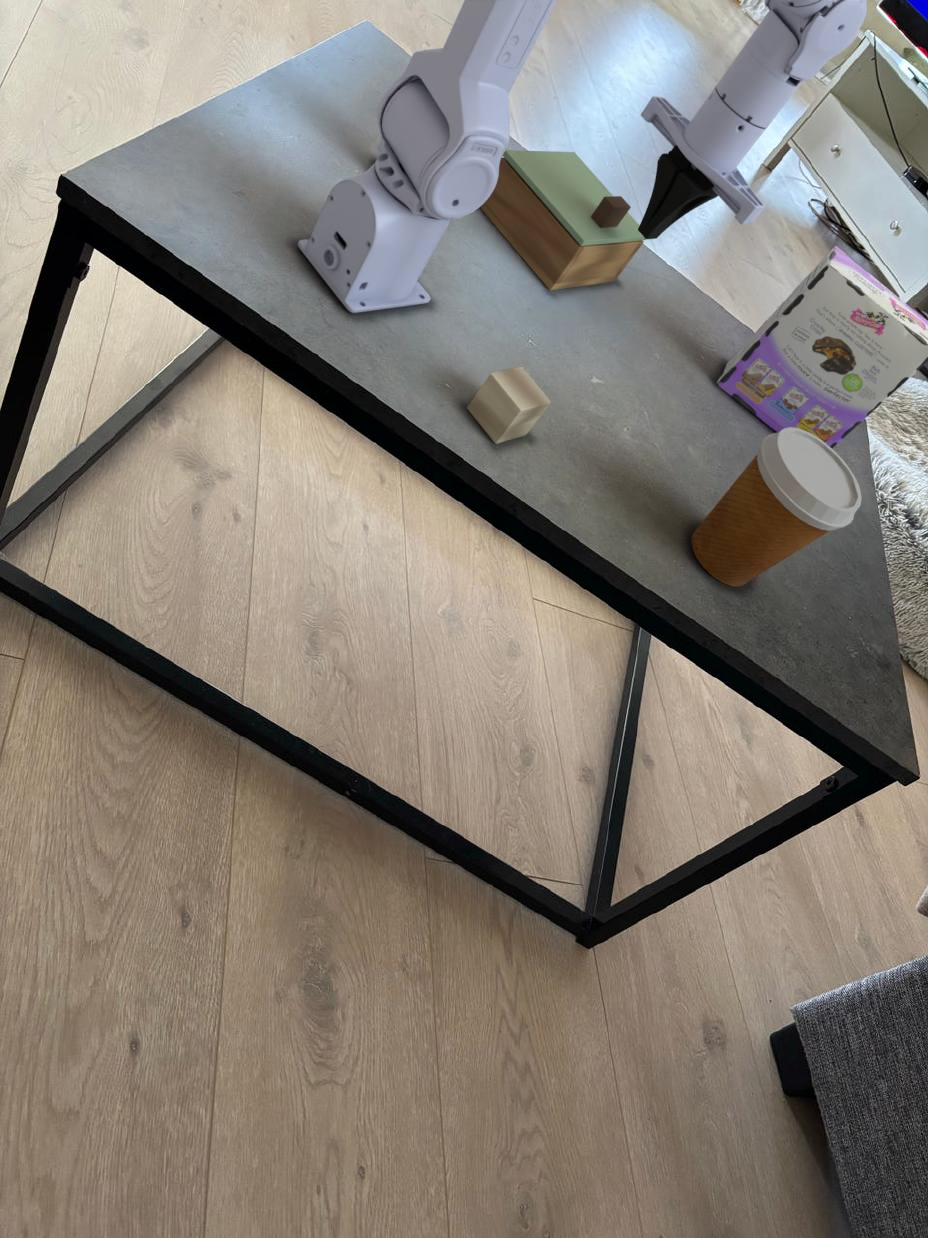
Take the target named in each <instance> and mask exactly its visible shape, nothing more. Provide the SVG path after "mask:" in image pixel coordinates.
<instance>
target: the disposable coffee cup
mask: <svg viewBox="0 0 928 1238" xmlns="http://www.w3.org/2000/svg"><path fill="white" fill-rule="evenodd" d="M756 453H757V454H756V455H755V456H754V457H753V459H752V460H751V461H750V463H748V464H747V466H745V468H744V470H742V472H741V473H740V474H739V476H738V477H737V478H736V479H735V481H734V482H733V483H732V485H731V486H730V487H729V488H728V490H726V492H725V493H724V495H722V497H721V498H720V500H719V501H718V502H717V503H716V505H715V506H714V507H713V508H712V510H711V511H710V512H709V513H708V515H706V516H705V517H704V519H703V521H702V522H701V523H700V524H699V526H698V527H697V528H696V529H695V530H694V531H693V533H692V535H691V548H692V551H693V553H694V555H695V557H696V559H697V561H698V562H699V564H700V565H701V566H702V567H703V569H704V570H705V571H706V572H707V573H709V575H711V576H712V577H713V578H714V579H716V581H719V582H721V583H722V584H725V585H727V586H730V587H742V586H744V585H746V584H747V583H749V582H750V581H751V580H753V579H755V578H757V577H758V576H760V575H761V574H763V573H765V572H766V571H768V570H770V569H771V568H773V567H774V566H776V565H778V564H779V563H781V562H783V561H784V560H786V559H787V558H789V557H791V556H792V555H794V554H795V553H797V552H798V551H800V550H802V549H803V548H805V547H808V545H810V544H811V543H813V542H815V541H816V540H818V539H820V538H821V537H823V536H824V535H825V534H827V533H829V532H831V531H837V530H838V529H843V528H844V527H847V526H849V525H850V524H852V522H853V520H854V519H855V513H856V512H857V511H858V510H859V508H860V507H861V505H862V499H863V498H862V497H863V496H862V491H861V488H860V485H859V482H858V479H857V478H856V476H855V474H854V473H853V471H852V470H851V468H850V467H849V466H848V465H847V463H846V462H845V460H844V459H843V458H842V457H841V456H840V455H839V454H838V453H837V452H836V451H835V450H834V448H833V449H832V448H831V447H830V446H828V445H827V444H826V443H825V442H823V441H822V440H821V439H819V438H818V437H816V436H814V435H813V434H811V433H809V432H807V431H805V430H802V429H799V428H793V427H789V428H785V429H783V430H781V431H779V432H778V433H777V432H774V433H770V434H768V435H766V436H764V438H763V440H762V441H761V443H760V446H759V449H758V450H757V452H756Z"/></svg>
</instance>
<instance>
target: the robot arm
mask: <svg viewBox="0 0 928 1238" xmlns="http://www.w3.org/2000/svg"><path fill="white" fill-rule="evenodd" d="M557 2H558V0H464V1H463V3H462V4H461V7H460V9H459V12H458V14H457V15H456V18H455V21H454V23H453V25H452V28H450V32H449V34H448V36H447V38H446V41H445V43H444V45H443V47H440V48H431V49H430V48H429V49H423V50H418V51H415V52H413V54H412V56H411V58H410V60H409V62H408V64H407V66H406V68H405V70H404V71H403V73H402V74H401V75H400V77H398V79H396V81H395V82H394V83H393V84H392V85H391V86H390V87H389V88H388V89H387V90H386V92H384V93H385V94H383V97H382V99H381V101H380V103H379V105H378V109H377V115H376V116H377V117H376V121H377V128H378V131H379V132H380V135H381V139H380V140H379V143H378V145H377V147H376V149H375V150H376V153H377V157H376V160H375V162H374V163H373V164H372V165H371V166H370V167H369V168H368V169H367V170H366V171H364V172H363V173H361V174H360V175H357V176H354V177H350V178H347V179H343V180H341V181H339V182H338V183H336V184H335V185H334V186H333V187H332V188H331V190H330V191H329V193H328V195H327V198H326V199H325V202H324V204H323V207H322V209H321V211H320V213H319V216H318V217H317V220H316V223H315V225H314V227H313V229H312V232H311V233H310V236H309V238H306V239H300V240H299V241H298V243H297V247H298V249H299V250H300V251H301V252H302V253H303V255H304V256H305V258H306V259H307V260H308V261H309V263H310V264H311V265H312V266H313V268H314V269H315V271H316V272H317V273H318V274H319V276H320V277H321V278H322V280H324V282H325V283H326V284H327V286H328V287H329V288H330V289H331V291H332V293H334V295H335V296H336V297H337V299H338V300H339V301H340V303H342V305H343V306H344V307H345V309H346V310H347V311H348V312H350V313H352V314H357V313H365V312H372V311H380V310H387V309H394V308H395V309H396V308H401V307H402V308H403V307H410V306H416V305H424V304H429V302H430V301H431V296H430V294H429V293H428V292H427V291H426V289H425V288H424V287H423V285H421V283H420V282H419V281H418V280H419V279H420V277H421V275H422V273H423V271H424V269H425V268H426V266H427V264H428V262H429V261H430V259H431V257H432V256H433V253H434V252H435V251H436V248H437V247H438V245H439V243H440V241H441V240H442V237H443V236H444V234H445V232H446V231H447V229H448V227H449V225H450V223H451V221H453V222H458V221H459V220H460V219H461V218H464V217H467V216H468V215H470V214H472V213H474V212H475V211H477V210H478V209H480V206H481V205H483V204H484V203H485V201H486V200H487V199H488V198H489V197H490V195H491V194H492V192H493V190H494V188H495V186H496V184H497V180H498V176H499V164H500V160H501V158H502V157H503V154H504V152H505V151H506V149H507V146H508V145H509V143H510V139H511V134H510V133H511V131H510V130H511V129H510V125H511V124H510V123H511V122H510V107H509V106H510V92H511V91H512V89H513V86H514V85H515V83H516V81H517V80H518V77H519V76H520V73H521V72H522V70H523V68H524V66H525V64H526V62H527V60H528V58H529V56H530V54H531V52H532V51H533V49H534V47H535V44H536V42H537V41H538V40H539V39H538V38H539V36H540V35H541V33H542V31H543V29H544V27H545V26H546V24H547V21H548V19H549V18H550V16H551V14H552V12H553V10H554V8H555V6H556V5H557ZM867 2H868V0H764V7H767V8H768V11H767V13H766V14H765V16H764V17H763V19H762V20H761V21H760V23H759V24H758V26H757V27H756V28H755V29H754V31H753V33H752V34H751V35H750V37H749V38H748V40H747V41H746V43H745V44H744V46H743V47H742V48H741V50H740V51H739V53H738V54H737V56H736V57H735V58H734V59H733V61H732V63H730V66H729V67H728V68H727V69H726V71H725V72H724V74H723V75H722V77H721V78H720V79H719V81H718V82H717V84H716V85H715V86H714V88H713V89H712V90H711V92H710V93H709V95H708V96H707V97H706V99H705V100H704V102H703V103H702V105H701V106H700V107H699V109H698V110H697V112H696V113H695V114H694V115H693V117H692V119H691V120H689V119H688V118H687V117H686V116H685V115H684V114H682V112H680V111H679V110H678V109H677V108H675V107H674V106H673V105H672V104H671V103H670V102H669V100H667V99H666V98H665V97H663V96H654V95H653V96H652V97H651V98H650V100H649V101H648V103H647V104H646V105H645V107H644V109H643V110H642V112H641V113H640V116H641V118H643V120H644V121H645V122H647V123H649V124H652V126H653V127H654V128H655V129H656V130H657V132H659V133H660V134H661V135H662V136H663V137H664V139H665V140H666V141H667V142H669V144H670V145H671V146H672V148H671V150H669V151H668V153H666V152H665V153H661V155H660V156H659V157H658V160H657V164H656V172H655V179H654V184H653V188H652V192H651V195H650V198H649V201H648V204H647V207H646V209H645V212H644V214H643V217H642V219H641V221H640V223H639V225H640V226H639V228H638V231H639V232H640V233H641V234H642V235H643V236H644V238H645V239H646V240H657V239H658V238H659V237H660V236H661V235H662V234H663V233H664V232H665V231H666V230H667V229H669V227H671V226H672V225H674V223H676V222H677V221H678V220H679V219H681V218H683V217H684V216H685V215H687V214H689V213H690V212H691V211H693V210H695V209H697V208H699V207H700V206H702V205H704V204H706V203H708V202H709V201H712V200H714V199H715V198H718V197H719V198H720V199H721V200H722V201H723V203H724V204H725V205H726V206H727V207H728V209H730V211H732V212H733V214H734V215H735V216H734V218H735V220H736V221H737V222H738V223H739V224H740V225H741V226H742V225H744V226H745V225H746V226H747V225H752V224H753V223H754V222H755V221H756V219H757V218H758V217H759V215H760V214H761V213H763V211H764V210H765V208H766V205H765V204H764V203H763V202H762V201H761V200H760V198H759V196H758V195H757V194H756V193H755V192H754V191H753V189H752V187H751V186H750V185H749V183H748V182H747V180H746V178H745V177H744V176H743V174H742V173H741V172H740V170H739V169H738V166H739V164H740V163H741V162H742V161H743V159H744V158H745V157H746V155H748V153H749V152H750V150H751V149H752V148H753V146H754V145H755V144H756V142H757V141H758V140H759V139H760V137H761V136H762V135H763V134H764V133H765V131H766V130H767V129H768V127H769V126H770V124H771V123H772V122H773V120H774V119H775V118H776V117H777V116H778V114H779V113H780V112H781V111H782V110H783V108H784V107H785V105H786V104H787V103H788V101H789V100H790V98H791V97H793V95H794V93H796V92H797V90H798V88H799V87H800V86H801V84H802V83H803V82H804V81H805V82H809V81H810V80H811V79H812V78H813V77H816V76H817V74H818V73H819V72H820V71H821V70H822V68H823V67H824V66H825V65H826V64H827V63H828V62H829V61H831V60H832V59H834V58H835V57H837V56H838V55H840V54H841V53H843V52H844V51H845V50H846V49H847V48H849V47H850V45H851V44H853V42H854V41H855V40H856V39H857V38H858V37H859V36H860V33H858V32H859V30H860V29H861V27H862V26H863V24H864V21H865V19H866V17H867V11H868V5H867V4H868V3H867Z"/></svg>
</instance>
